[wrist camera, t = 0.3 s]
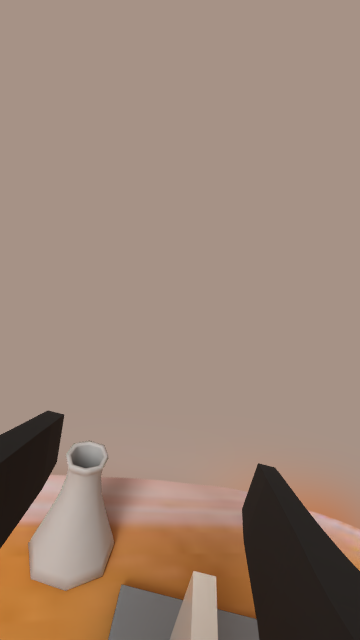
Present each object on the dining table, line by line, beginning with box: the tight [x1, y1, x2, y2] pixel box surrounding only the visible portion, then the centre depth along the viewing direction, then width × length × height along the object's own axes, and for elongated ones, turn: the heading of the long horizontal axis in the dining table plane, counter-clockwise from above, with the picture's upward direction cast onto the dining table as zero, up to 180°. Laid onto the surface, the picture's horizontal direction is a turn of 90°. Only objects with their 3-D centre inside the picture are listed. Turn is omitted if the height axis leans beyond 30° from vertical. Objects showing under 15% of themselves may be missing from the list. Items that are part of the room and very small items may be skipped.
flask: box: [28, 441, 114, 591], centre depth 26 cm, size 7×7×10 cm
